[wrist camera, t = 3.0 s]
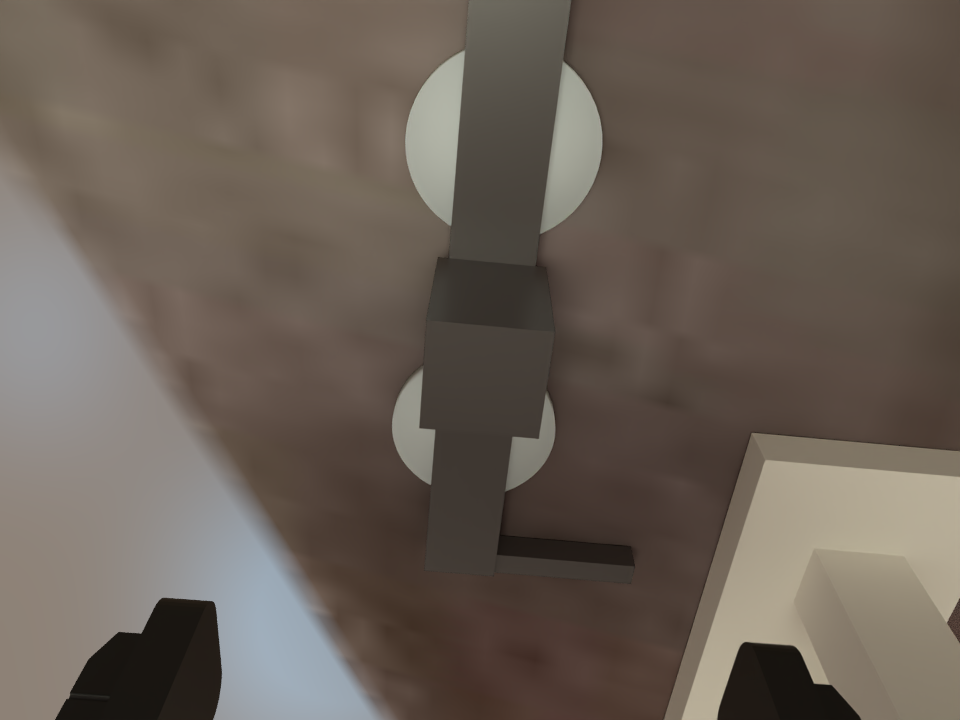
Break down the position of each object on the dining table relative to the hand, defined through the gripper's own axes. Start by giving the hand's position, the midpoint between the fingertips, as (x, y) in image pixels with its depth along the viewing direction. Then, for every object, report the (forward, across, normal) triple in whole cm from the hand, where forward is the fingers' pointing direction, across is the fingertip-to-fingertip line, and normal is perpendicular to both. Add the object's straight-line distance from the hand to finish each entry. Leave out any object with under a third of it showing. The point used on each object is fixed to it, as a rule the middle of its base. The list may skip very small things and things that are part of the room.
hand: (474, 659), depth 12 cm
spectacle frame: (+13, -2, 0) cm, 13 cm away
